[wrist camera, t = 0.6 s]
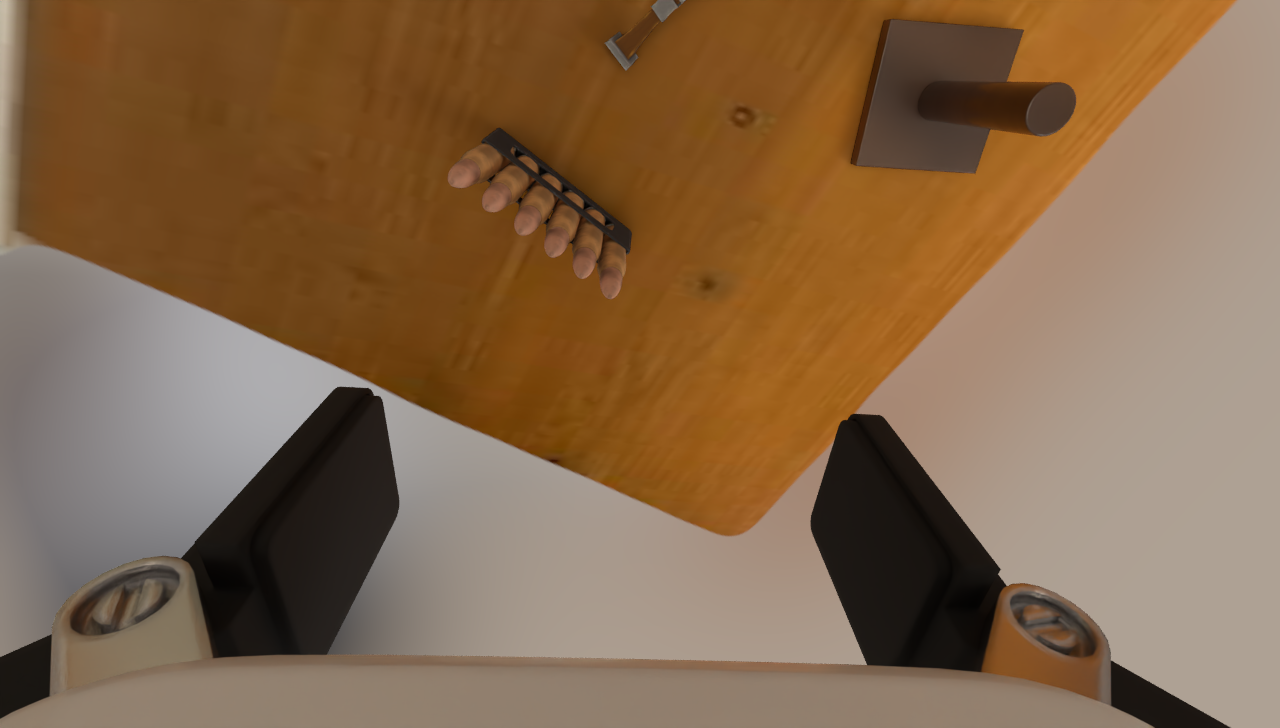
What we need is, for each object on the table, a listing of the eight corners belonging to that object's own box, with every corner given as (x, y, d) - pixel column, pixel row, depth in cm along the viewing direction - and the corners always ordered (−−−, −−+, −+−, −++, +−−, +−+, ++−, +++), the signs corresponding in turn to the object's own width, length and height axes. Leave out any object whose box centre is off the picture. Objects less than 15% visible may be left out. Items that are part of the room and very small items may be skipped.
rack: (883, 20, 32) (999, -5, 22) (1013, 30, 32) (1182, 11, 22) (850, 163, 35) (936, 196, 26) (966, 171, 36) (1094, 206, 26)
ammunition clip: (632, 232, 37) (636, 293, 27) (616, 252, 38) (613, 321, 27) (498, 126, 34) (442, 149, 23) (483, 151, 34) (422, 185, 24)
